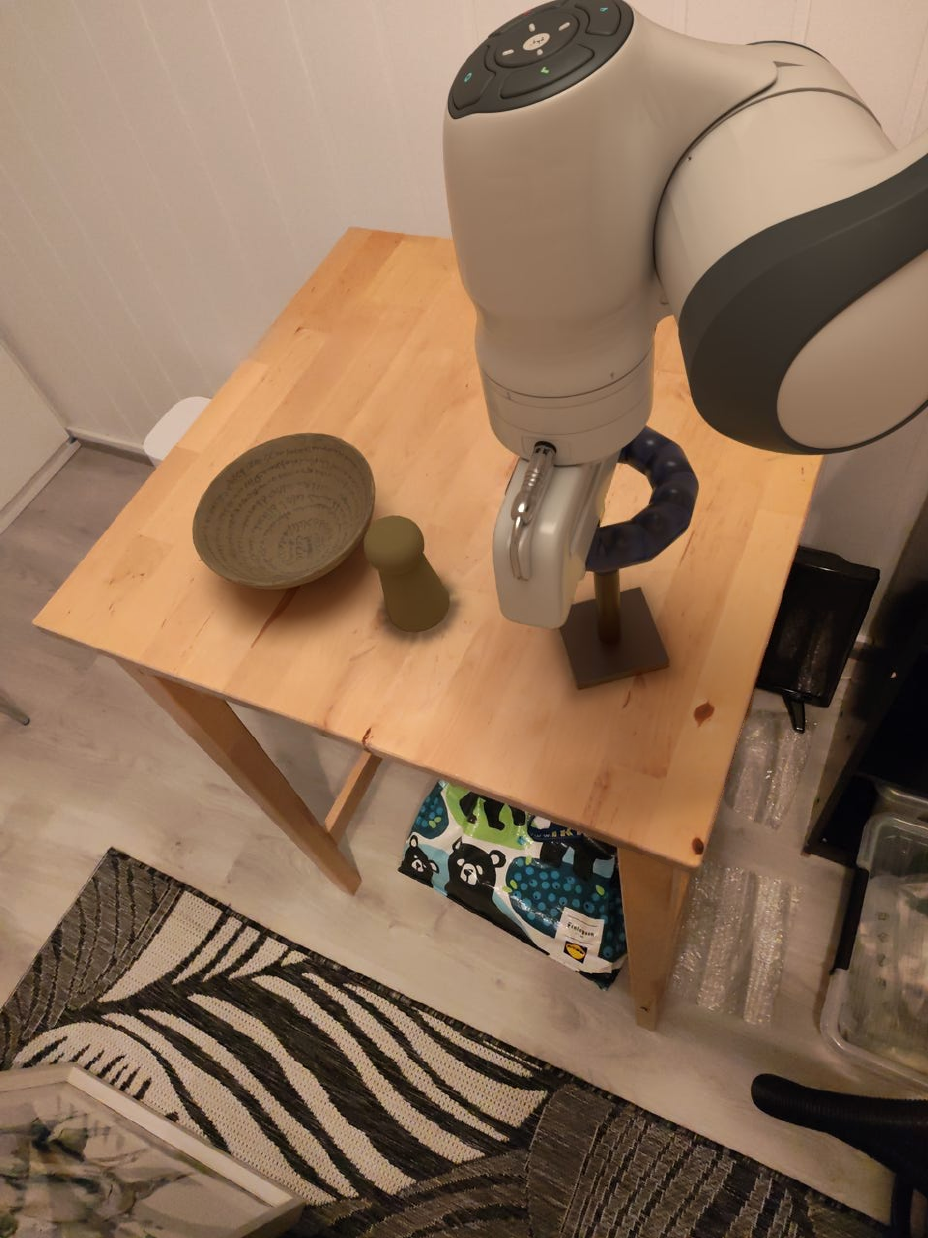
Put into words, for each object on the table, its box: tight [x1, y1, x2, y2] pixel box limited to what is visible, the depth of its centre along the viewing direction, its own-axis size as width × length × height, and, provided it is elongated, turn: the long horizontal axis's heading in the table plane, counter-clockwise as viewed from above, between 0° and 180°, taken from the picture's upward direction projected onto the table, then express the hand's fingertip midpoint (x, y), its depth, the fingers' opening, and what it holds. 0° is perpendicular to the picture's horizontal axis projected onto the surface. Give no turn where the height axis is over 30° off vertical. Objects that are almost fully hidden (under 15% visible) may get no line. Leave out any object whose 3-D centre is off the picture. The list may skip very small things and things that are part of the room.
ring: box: [504, 424, 700, 573], centre depth 56 cm, size 13×13×3 cm
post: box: [558, 569, 671, 691], centre depth 66 cm, size 8×8×11 cm
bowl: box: [191, 432, 376, 590], centre depth 79 cm, size 18×18×8 cm
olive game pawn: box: [363, 515, 450, 633], centre depth 72 cm, size 6×6×11 cm
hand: (582, 545), depth 54 cm, fingers closed on ring, 3 cm apart
